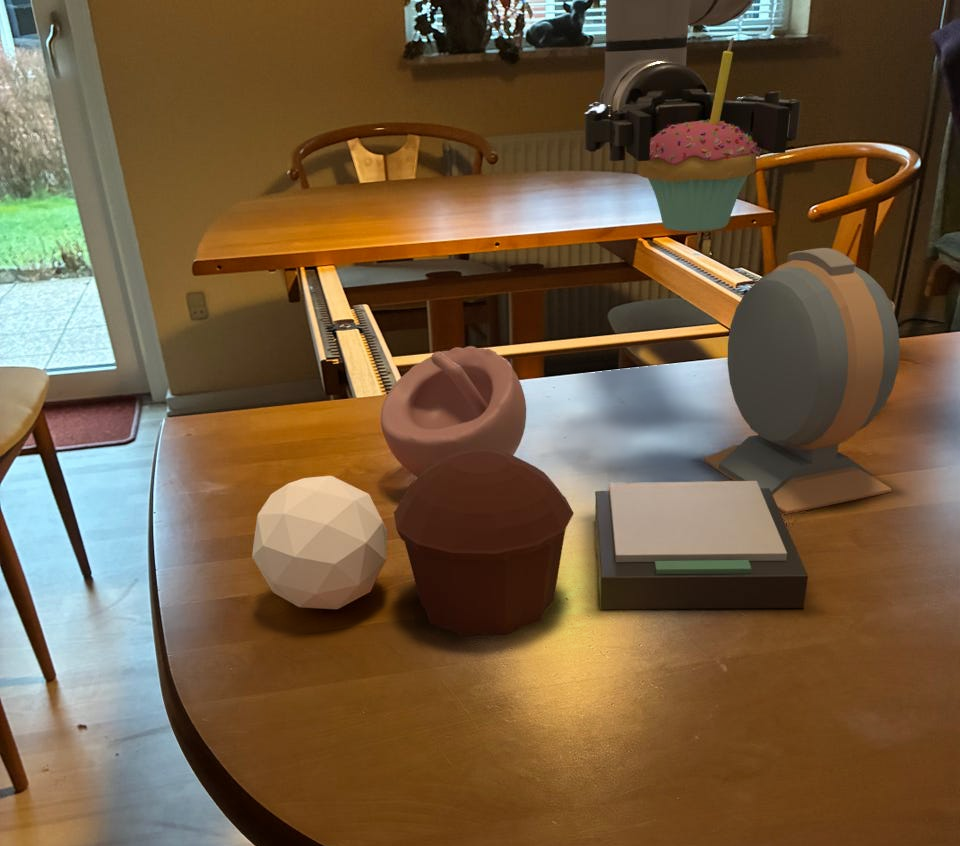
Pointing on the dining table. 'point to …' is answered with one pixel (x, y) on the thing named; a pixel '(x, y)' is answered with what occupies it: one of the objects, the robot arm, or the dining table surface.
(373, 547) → the white geodesic ball
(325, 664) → the dining table surface
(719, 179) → the cupcake
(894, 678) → the dining table surface
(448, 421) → the mortar and pestle
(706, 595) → the scale
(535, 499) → the muffin
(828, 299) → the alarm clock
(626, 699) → the dining table surface
